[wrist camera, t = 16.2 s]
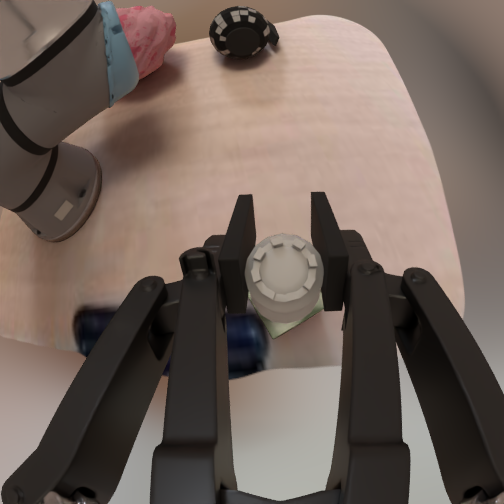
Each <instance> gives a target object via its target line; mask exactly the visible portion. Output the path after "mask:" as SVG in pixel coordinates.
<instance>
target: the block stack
mask: <svg viewBox="0 0 504 504" xmlns="http://www.w3.org/2000/svg"><path fill="white" fill-rule="evenodd" d="M248 298H249V300H250V301H251V303H252V299H251V295H250V292H249V293H248ZM252 305H253V307H254V308H255V310H256V312H257V313H258V315H259V317H260V318H261V320H262V322H263V323H264V325H265V327H266V329H267V330H268V332H269V334H270V335H271V337H272V339H275V338H277V337H279V336H280V335H282V334H284V333H285V332H287V331H289V330H290V329H292V328H294V327H295V326H297V325H299V324H300V323H302V322H304V321H305V320H307V319H309V318H310V317H312V316H313V315H315V314H317V313H318V312H320V311H321V310H323V309H324V306H323V300H322V294H321V290H320V295H319V300H318V302H317V303H316V305H315V307H314V308H313V310H312V312H311V313H309V314H308V315H307V316H305V317H304V318H303V319H301V320H300V321H296V322H292V323H288V324H284V323H277V322H272V321H271V320H269V319H267V318H266V317H264V316H262V315H261V314H260V313H259V311H258V310H257V309H256V307H255V306H254V304H253V303H252Z"/></svg>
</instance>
